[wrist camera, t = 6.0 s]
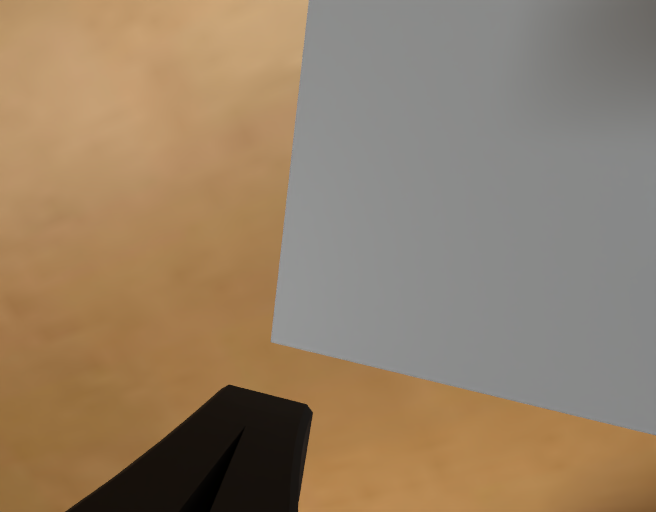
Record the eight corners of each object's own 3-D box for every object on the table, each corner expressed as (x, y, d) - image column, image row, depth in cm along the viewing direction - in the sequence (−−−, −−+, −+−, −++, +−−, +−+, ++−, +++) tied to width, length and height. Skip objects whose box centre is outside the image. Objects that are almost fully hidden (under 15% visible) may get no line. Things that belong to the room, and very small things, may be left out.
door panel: (740, 430, 18) (790, 517, 15) (281, 321, 20) (249, 380, 17) (1025, -69, 12) (1195, -81, 9) (338, -155, 14) (304, -188, 11)
